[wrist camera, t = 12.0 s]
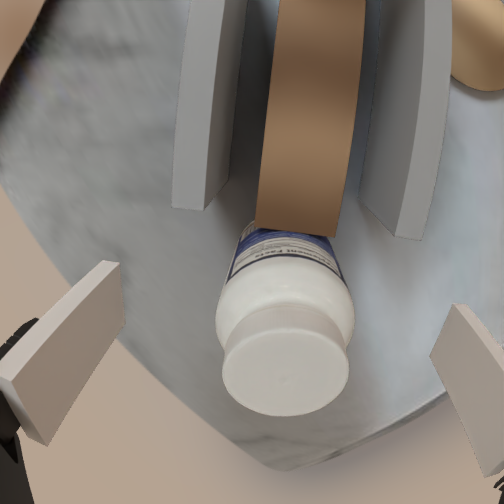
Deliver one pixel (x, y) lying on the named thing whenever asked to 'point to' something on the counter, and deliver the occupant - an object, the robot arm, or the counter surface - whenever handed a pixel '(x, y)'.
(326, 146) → the sliding block
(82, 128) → the counter surface
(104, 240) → the counter surface
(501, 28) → the coaster
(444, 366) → the robot arm
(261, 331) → the pill bottle
